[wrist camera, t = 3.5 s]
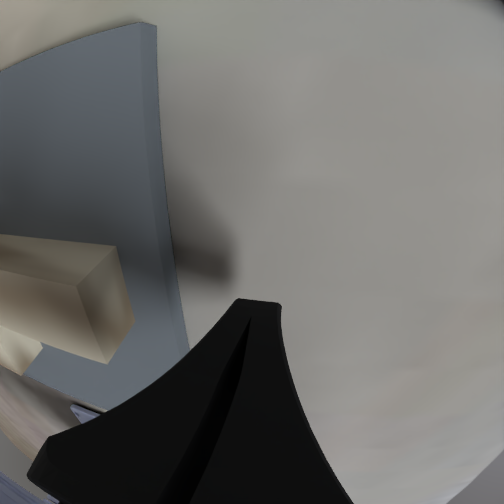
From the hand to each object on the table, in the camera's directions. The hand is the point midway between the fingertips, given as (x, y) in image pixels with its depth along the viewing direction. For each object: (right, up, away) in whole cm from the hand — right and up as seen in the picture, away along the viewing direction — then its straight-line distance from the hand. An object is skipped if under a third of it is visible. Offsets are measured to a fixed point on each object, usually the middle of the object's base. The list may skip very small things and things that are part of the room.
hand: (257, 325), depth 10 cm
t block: (-11, +1, +3) cm, 11 cm away
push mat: (-17, +2, +5) cm, 18 cm away
